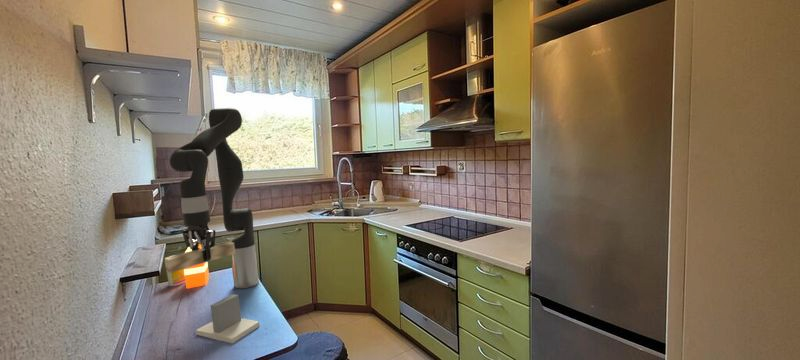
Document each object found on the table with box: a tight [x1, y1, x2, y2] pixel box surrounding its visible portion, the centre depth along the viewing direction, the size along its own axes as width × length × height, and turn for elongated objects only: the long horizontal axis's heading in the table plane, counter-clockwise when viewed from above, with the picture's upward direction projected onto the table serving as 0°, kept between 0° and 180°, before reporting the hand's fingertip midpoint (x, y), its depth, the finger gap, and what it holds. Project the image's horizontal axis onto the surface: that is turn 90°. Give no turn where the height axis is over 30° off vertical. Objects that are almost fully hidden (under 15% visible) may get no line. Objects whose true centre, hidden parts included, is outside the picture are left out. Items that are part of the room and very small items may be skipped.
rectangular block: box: [164, 241, 235, 273], centre depth 110 cm, size 20×4×4 cm, turn 142°
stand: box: [195, 293, 260, 345], centre depth 103 cm, size 16×10×10 cm, turn 66°
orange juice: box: [184, 243, 210, 290], centre depth 146 cm, size 8×9×20 cm
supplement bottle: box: [166, 254, 186, 287], centre depth 148 cm, size 7×7×13 cm
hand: (202, 259), depth 110 cm, fingers closed on rectangular block, 4 cm apart
